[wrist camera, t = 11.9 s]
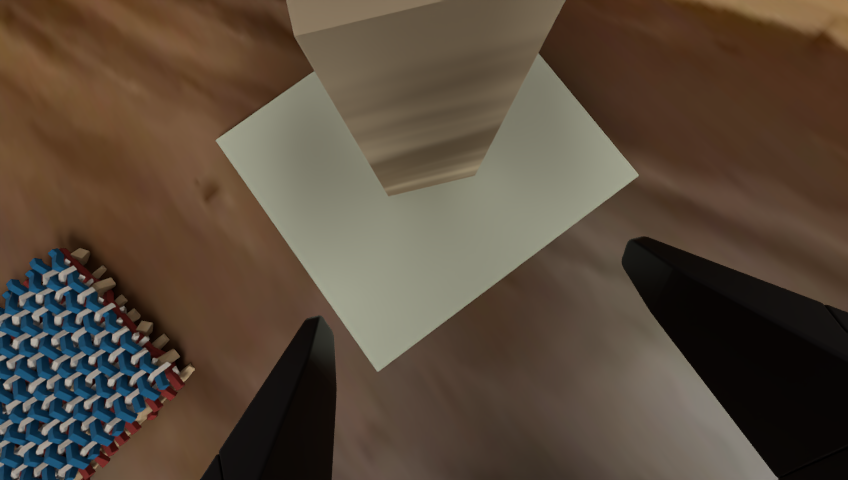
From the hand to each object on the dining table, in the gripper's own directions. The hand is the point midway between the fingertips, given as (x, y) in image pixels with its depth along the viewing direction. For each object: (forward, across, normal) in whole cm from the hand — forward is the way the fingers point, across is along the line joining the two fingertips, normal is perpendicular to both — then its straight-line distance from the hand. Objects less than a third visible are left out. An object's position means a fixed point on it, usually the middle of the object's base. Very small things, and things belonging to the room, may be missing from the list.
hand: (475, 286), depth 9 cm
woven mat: (+6, +22, +6) cm, 24 cm away
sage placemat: (+11, 0, +1) cm, 11 cm away
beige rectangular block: (+10, 0, +1) cm, 11 cm away
